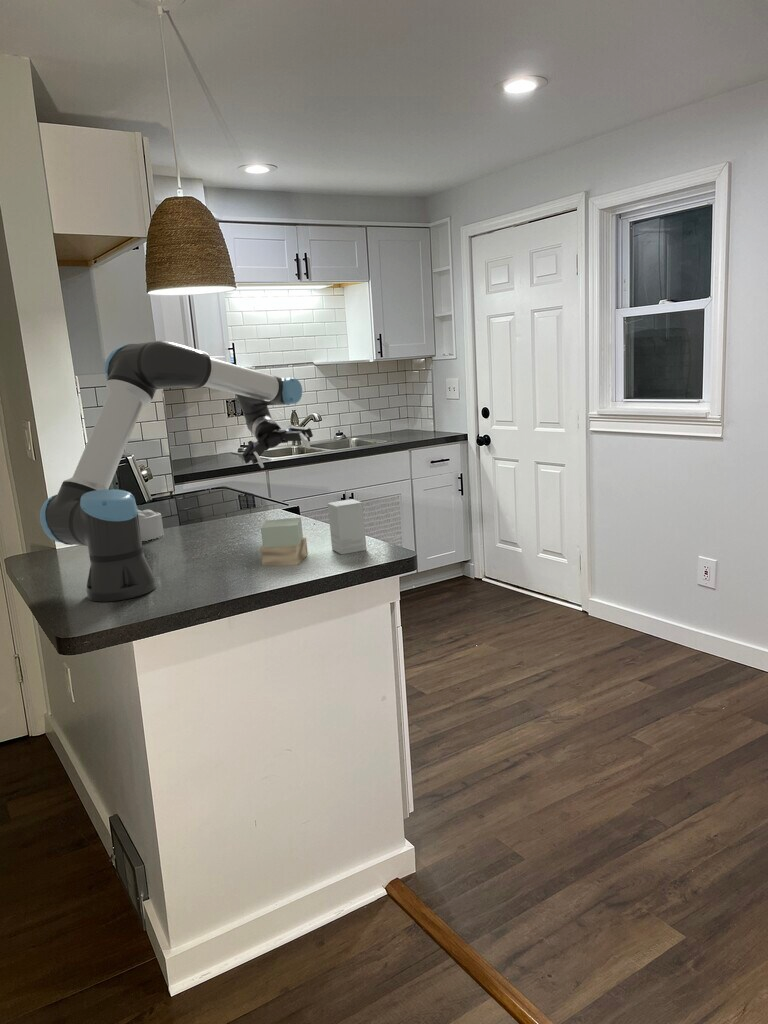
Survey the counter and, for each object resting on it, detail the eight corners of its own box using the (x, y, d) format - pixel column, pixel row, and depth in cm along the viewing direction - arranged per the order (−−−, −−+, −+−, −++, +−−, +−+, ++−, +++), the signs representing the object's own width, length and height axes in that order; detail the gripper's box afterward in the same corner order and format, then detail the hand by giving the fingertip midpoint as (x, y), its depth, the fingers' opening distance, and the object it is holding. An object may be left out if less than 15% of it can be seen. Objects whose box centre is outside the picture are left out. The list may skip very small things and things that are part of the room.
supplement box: (367, 550, 196) (363, 502, 193) (340, 555, 193) (335, 506, 191) (357, 544, 203) (353, 498, 200) (331, 549, 200) (326, 502, 198)
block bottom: (297, 565, 187) (295, 546, 186) (262, 566, 189) (260, 547, 188) (308, 556, 196) (306, 537, 195) (274, 557, 198) (272, 538, 197)
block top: (299, 544, 187) (297, 524, 186) (262, 547, 187) (260, 527, 186) (302, 536, 196) (300, 517, 195) (268, 539, 196) (266, 520, 195)
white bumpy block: (118, 539, 236) (114, 512, 234) (161, 532, 241) (158, 506, 239) (121, 545, 227) (117, 517, 225) (166, 538, 231) (162, 510, 230)
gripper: (310, 428, 227) (331, 448, 208) (232, 459, 222) (246, 483, 203) (302, 405, 223) (323, 423, 205) (222, 436, 218) (236, 458, 200)
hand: (284, 453), depth 204 cm, fingers open, 13 cm apart
